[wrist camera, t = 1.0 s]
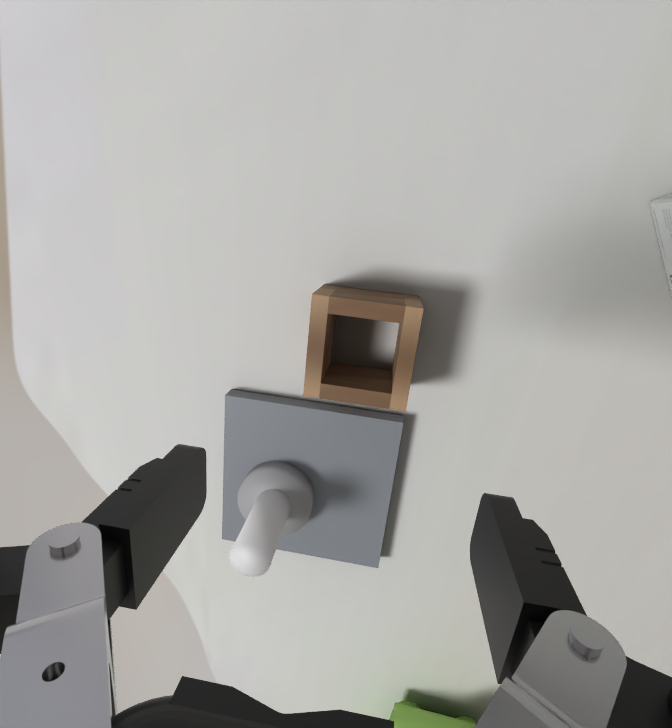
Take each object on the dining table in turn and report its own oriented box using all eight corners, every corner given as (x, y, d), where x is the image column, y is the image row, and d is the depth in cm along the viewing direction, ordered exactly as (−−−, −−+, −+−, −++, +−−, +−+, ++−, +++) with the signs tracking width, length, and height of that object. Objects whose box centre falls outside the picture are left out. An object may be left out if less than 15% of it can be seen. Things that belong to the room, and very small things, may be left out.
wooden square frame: (324, 284, 28) (312, 294, 24) (419, 296, 28) (423, 308, 24) (315, 372, 30) (303, 395, 26) (404, 385, 30) (405, 411, 26)
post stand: (231, 389, 32) (178, 441, 24) (403, 415, 31) (406, 479, 23) (227, 529, 36) (181, 612, 28) (378, 556, 35) (374, 651, 27)
